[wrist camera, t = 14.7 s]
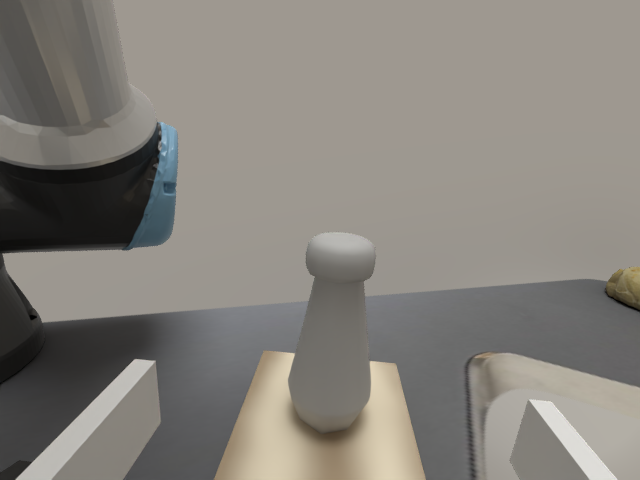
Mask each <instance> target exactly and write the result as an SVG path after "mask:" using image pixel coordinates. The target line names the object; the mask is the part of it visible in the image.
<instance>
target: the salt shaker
mask: <svg viewBox="0 0 640 480" xmlns="http://www.w3.org/2000/svg"><path fill="white" fill-rule="evenodd" d="M375 259H376V254H375V247H374V245H373V244H372V243H371V242H370V241H369V240H367V239H366V238H364V237H361V236H358V235H354V234H350V233H344V232H328V233H323V234H319V235H316V236H315V237H314V238H313V239H312V240H311V241H310V242H309V244H308V247H307V251H306V266H307V269H308V271H309V273H310V274H311V275H313V276H315V278H314V282H313V286H312V290H311V295H310V299H309V303H308V307H307V311H306V315H305V319H304V322H303V326H302V330H301V333H300V337H299V341H298V344H297V348H296V352H295V355H294V359H293V363H292V366H291V370H290V374H289V377H288V386H289V391H290V395H291V399H292V402H293V404H294V406H295V409H296V411H297V413H298V415H299V418H300V420H302V421H303V422H305V423H306V424H308V425H309V426H310V427H312V428H313V429H315V430H316V431H318V432H319V433H320V434H325V433H331V432H336V431H342V430H347V429H348V428H349V426H350V425H351V424H352V422H353V421H354V420H355V418H356V417H357V416H358V414H359V413H360V412H361V411H362V409H363V408H364V407H365V405H366V404H367V403H368V401H369V398H370V392H371V373H370V359H369V346H368V333H367V320H366V306H365V293H364V281H365V280H367V279H368V278H370V277H371V276H372V274H373V270H374V266H375Z"/></svg>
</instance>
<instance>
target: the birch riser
mask: <svg viewBox="0 0 640 480" xmlns="http://www.w3.org/2000/svg"><path fill="white" fill-rule="evenodd" d="M294 355H295V354H294V353H284V352H275V351H265V350H264V352H263V354H262V357H261V359H260V362H259V364H258V367H257V370H256V372H255V375H254V377H253V380H252V383H251V385H250V388H249V390H248V393H247V395H246V398H245V401H244V403H243V406H242V408H241V411H240V414H239V416H238V419H237V421H236V424H235V426H234V429H233V432H232V434H231V437H230V439H229V442H228V445H227V447H226V450H225V452H224V455H223V457H222V460H221V463H220V465H219V468H218V470H217V473H216V476H215V478H214V480H426V479H425V475H424V471H423V467H422V463H421V460H420V456H419V452H418V448H417V444H416V440H415V436H414V432H413V429H412V425H411V421H410V417H409V413H408V409H407V405H406V402H405V398H404V394H403V390H402V386H401V382H400V378H399V374H398V371H397V367H396V364H393V363H383V362H373V361H370V373H371V392H370V398H369V401H368V403H367V404H366V405H365V407H364V408H363V409H362V411H361V412H360V413H359V414H358V416H357V417H356V418H355V420H354V421H353V422H352V424H351V425H350V426H349V428H348V429H347V430H342V431H336V432H331V433H325V434H320V433H319V432H318V431H316V430H315V429H313V428H312V427H310V426H309V425H308V424H306V423H305V422H303V421H302V420H300V418H299V415H298V413H297V411H296V409H295V406H294V404H293V402H292V399H291V395H290V391H289V386H288V377H289V374H290V370H291V366H292V363H293V359H294Z"/></svg>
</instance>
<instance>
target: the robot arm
mask: <svg viewBox="0 0 640 480" xmlns="http://www.w3.org/2000/svg"><path fill="white" fill-rule="evenodd" d="M177 165H178V136H177V131H176V129H175V128H174V127H172V126H170V125H166V124H164V123H163V122H159V123H158V122H157V118H156V113H155V110H154V107H153V105H152V103H151V101H150V100H149V99H148V97H147V96H146V95H145V94H144V93H142V92H141V91H140V90H139V89H137V88H136V87H135V86H133V85H131V84H130V83H129V82H128V78H127V73H126V67H125V62H124V57H123V52H122V47H121V41H120V36H119V31H118V26H117V21H116V16H115V10H114V5H113V0H0V383H1V382H2V381H4V380H6V379H7V378H9V377H10V376H12V375H13V374H15V373H16V372H18V371H19V370H20V369H22V368H23V367H24V366H25V365H27V364H28V363H29V362H30V361H31V360H32V359H33V358H34V357H35V356H36V355H37V354H38V352H39V351H40V350H41V348H42V346H43V344H44V340H45V337H44V331H43V326H42V321H41V318H40V316H39V314H38V313H37V312H36V310H35V309H34V308H33V307H32V306H31V304H30V303H29V301H28V300H27V298H26V297H25V295H24V294H23V293H22V291H21V290H20V289H19V287H18V286H17V285H16V283H15V282H14V281H13V280H12V278H11V277H10V276H9V274H8V273H7V271H6V268H5V264H4V259H3V255H2V253H18V252H52V251H84V250H85V251H87V250H130V249H132V248H137V247H148V246H158V245H161V244H163V243H164V242H166V241H167V240H168V239H169V237H170V235H171V234H172V230H173V224H174V215H175V202H176V189H175V187H176V180H177V179H176V178H177ZM160 423H161V418H160V406H159V395H158V383H157V371H156V361H150V360H140V359H134V360H133V361H132V362H131V363H130V364H129V365H128V366H127V367H126V369H125V370H124V371H123V372H122V373H121V374H120V375H119V376H118V377H117V378H116V379H115V380H114V381H113V382H112V383H111V384H110V385H109V386H108V387H107V388H106V389H105V390H104V391H103V392H102V393H101V394H100V395H99V396H98V397H97V398H96V399H95V400H94V401H93V402H92V403H91V404H90V405H89V406H88V407H87V408H86V409H85V410H84V411H83V412H82V413H81V414H80V415H79V416H78V417H77V418H76V419H75V420H74V421H73V422H72V423H71V424H70V425H69V426H68V427H67V428H66V429H65V430H64V431H63V432H62V433H61V434H60V435H59V436H58V437H57V438H56V439H55V440H54V441H53V442H52V443H51V444H50V445H49V446H48V447H47V448H46V449H45V450H44V451H43V452H42V453H41V454H40V455H39V456H38V457H37V458H36V459H35V460H34V461H33V462H27V461H17V462H16V463H14V464H13V465H11V466H10V467H8V468H7V469H5V470H4V471H2V472H1V473H0V480H123V479H124V477H125V476H126V474H127V473H128V471H129V470H130V468H131V467H132V465H133V464H134V462H135V461H136V459H137V458H138V456H139V455H140V453H141V452H142V450H143V449H144V447H145V446H146V444H147V443H148V441H149V440H150V438H151V437H152V435H153V434H154V432H155V431H156V429H157V428H158V426H159V424H160ZM510 463H511V464H512V466H513V468H514V470H515V472H516V473H517V475H518V477H519V479H520V480H617V479H616V477H615V476H614V475H613V474H612V473H611V472H610V470H609V469H608V468H607V467H606V466H605V464H604V463H603V462H602V461H601V460H600V459H599V457H598V456H597V455H596V454H595V453H594V451H593V450H592V449H591V448H590V447H589V445H588V444H587V443H586V442H585V441H584V440H583V438H582V437H581V436H580V435H579V434H578V432H577V431H576V430H575V429H574V428H573V427H572V425H571V424H570V423H569V422H568V421H567V419H566V418H565V417H564V416H563V415H562V414H561V412H560V411H559V410H558V409H557V408H556V407H555V405H554V404H553V403H552V402H551V401H541V400H531V399H529V400H528V402H527V406H526V409H525V412H524V415H523V419H522V422H521V425H520V429H519V432H518V435H517V438H516V442H515V445H514V448H513V452H512V455H511V458H510Z"/></svg>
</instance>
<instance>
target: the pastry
mask: <svg viewBox="0 0 640 480" xmlns="http://www.w3.org/2000/svg"><path fill="white" fill-rule="evenodd" d="M605 290H606V291H607V294H608V295H609V296H611V297H613V298H614V299H615V300H618V301H621V302H624V303H625V304H627V305H629V306H632V307H634V308H637V309H638V310H640V267H629V268H628V269H624V270H622V269H619V270H618V271H617V272H616V273H614V274H613V275H612V277H611V278H610V279H609V281H608V282H607V285H606V288H605Z"/></svg>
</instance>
